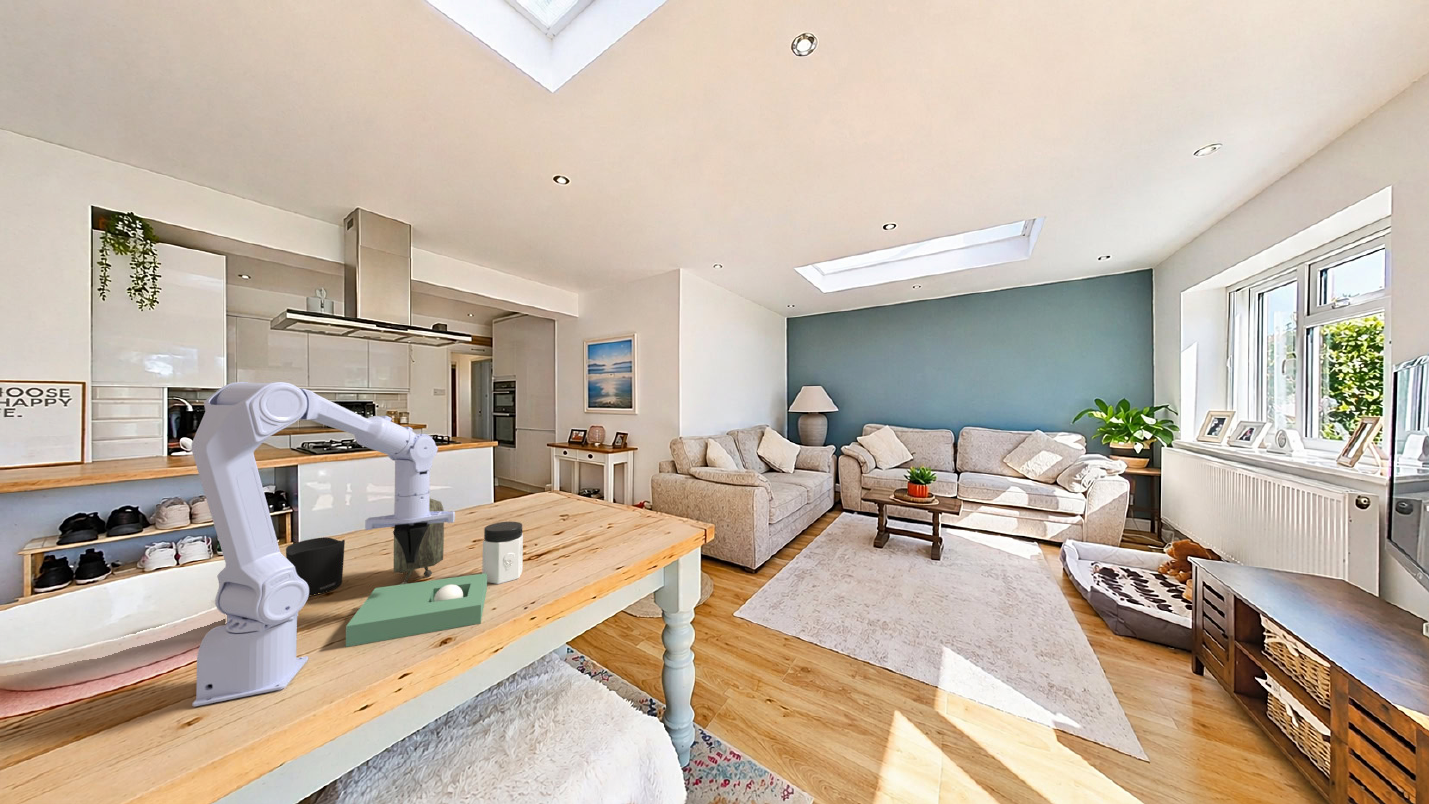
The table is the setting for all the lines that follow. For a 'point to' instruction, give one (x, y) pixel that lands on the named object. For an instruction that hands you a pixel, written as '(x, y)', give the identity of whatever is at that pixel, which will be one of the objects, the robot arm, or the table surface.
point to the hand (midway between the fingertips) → (411, 561)
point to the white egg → (448, 593)
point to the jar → (502, 552)
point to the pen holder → (318, 562)
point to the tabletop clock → (423, 548)
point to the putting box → (416, 610)
